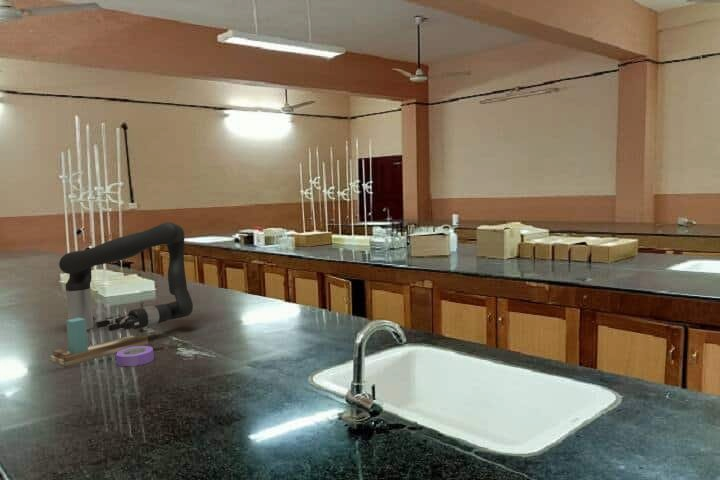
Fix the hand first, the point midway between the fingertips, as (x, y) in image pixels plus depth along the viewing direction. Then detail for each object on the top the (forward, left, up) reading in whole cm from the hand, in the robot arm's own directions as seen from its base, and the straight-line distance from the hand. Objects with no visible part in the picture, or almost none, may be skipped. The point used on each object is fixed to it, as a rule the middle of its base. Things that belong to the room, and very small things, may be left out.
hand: (102, 326), depth 196 cm
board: (0, -1, -9) cm, 9 cm away
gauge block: (0, -9, -7) cm, 12 cm away
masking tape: (+21, 0, -9) cm, 23 cm away
